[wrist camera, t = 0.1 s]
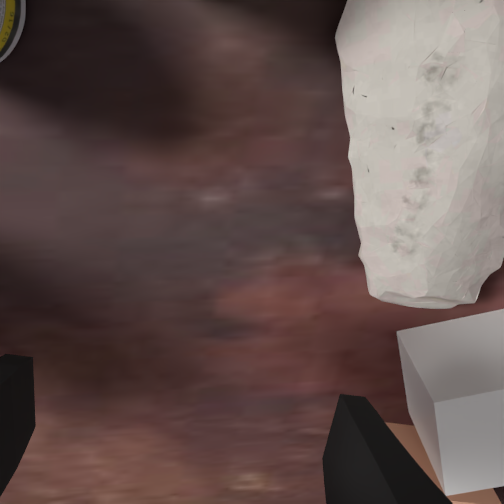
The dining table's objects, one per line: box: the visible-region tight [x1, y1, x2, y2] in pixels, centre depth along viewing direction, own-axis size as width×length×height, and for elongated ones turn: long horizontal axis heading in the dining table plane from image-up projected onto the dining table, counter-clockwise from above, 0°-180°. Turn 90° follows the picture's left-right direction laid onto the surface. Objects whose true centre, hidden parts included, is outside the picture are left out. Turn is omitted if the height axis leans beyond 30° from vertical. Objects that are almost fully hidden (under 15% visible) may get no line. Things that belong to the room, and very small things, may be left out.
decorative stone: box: [335, 0, 504, 309], centre depth 16 cm, size 10×4×15 cm
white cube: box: [396, 309, 504, 496], centre depth 20 cm, size 5×5×5 cm
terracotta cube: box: [385, 422, 501, 504], centre depth 23 cm, size 4×4×4 cm
